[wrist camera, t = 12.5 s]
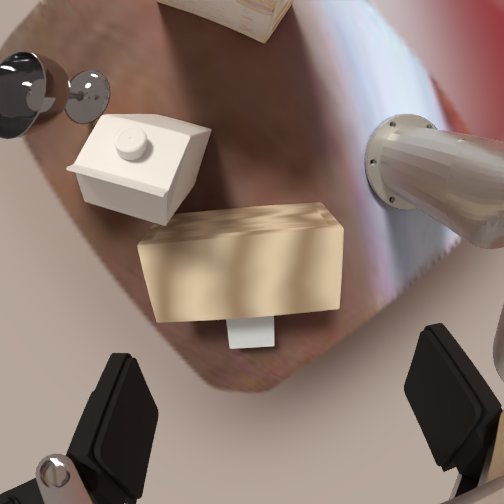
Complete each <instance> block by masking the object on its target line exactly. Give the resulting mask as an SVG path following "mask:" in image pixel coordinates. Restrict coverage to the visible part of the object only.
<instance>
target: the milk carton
mask: <svg viewBox="0 0 504 504" xmlns="http://www.w3.org/2000/svg"><path fill="white" fill-rule="evenodd" d="M211 131H212V130H211V129H209V128H206V127H203V126H199V125H196V124H192V123H188V122H185V121H181V120H177V119H173V118H169V117H165V116H161V115H157V114H107V115H102V116H101V118H100V119H99V121H98V123H97V124H96V126H95V128H94V129H93V131H92V133H91V134H90V136H89V138H88V140H87V141H86V143H85V145H84V147H83V148H82V150H81V152H80V154H79V156H78V158H77V160H76V161H75V163H74V165H71V166H68V167H67V170H69V171H73V172H75V173H76V176H77V179H78V182H79V185H80V188H81V192H82V195H83V198H84V200H85V202H88V203H91V204H94V205H97V206H101V207H104V208H107V209H110V210H114V211H117V212H120V213H124V214H127V215H130V216H134V217H137V218H140V219H143V220H147V221H150V222H153V223H157V224H160V225H164V226H166V225H167V223H168V222H169V220H170V219H171V217H172V216H173V214H174V213H175V212H176V210H177V209H178V207H179V206H180V205H181V203H182V202H183V200H184V199H185V198H186V196H187V195H188V193H189V192H190V191H191V189H192V188H193V186H194V185H195V182H196V178H197V175H198V172H199V168H200V165H201V162H202V159H203V155H204V152H205V149H206V146H207V143H208V140H209V137H210V134H211Z"/></svg>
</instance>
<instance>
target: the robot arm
mask: <svg viewBox="0 0 504 504" xmlns="http://www.w3.org/2000/svg"><path fill="white" fill-rule="evenodd" d="M390 123H391V126H390ZM371 160H372V163H371V164H370V161H371ZM365 168H366V174H367V177H368V181H369V183H370V185H371V187H372V189H373V190H374V192H375V193H376V194H377V196H378V197H379V198H381V199H382V200H383V201H384V202H385V203H387V204H388V205H390V206H392V207H395V208H397V209H402V210H413V209H417V208H418V209H419V210H421V211H423V212H424V213H426V214H427V215H429V216H431V217H432V218H434V219H435V220H437V221H438V222H440V223H441V224H443V225H444V226H446V227H447V228H449V229H450V230H452V231H453V232H455V233H456V234H458V235H459V236H461V237H462V238H464V239H465V240H467V241H468V242H470V243H472V244H473V245H475V246H478V247H480V248H484V249H497V248H502V247H504V142H501V141H496V140H491V139H486V138H482V137H477V136H472V135H466V134H461V133H455V132H449V131H443V130H438V129H437V128H436V127H435V126H434V125H433V124H432V123H431V122H430V121H428V120H427V119H425V118H423V117H421V116H418V115H413V114H400V115H395V116H392V117H390V118H388V119H386V120H385V121H383V122H382V123H381V124H380V125H379V126H378V127H377V128H376V129H375V131H374V132H373V134H372V135H371V137H370V140H369V142H368V145H367V149H366V153H365ZM390 197H391V198H390ZM389 198H390V199H389ZM493 358H494V364H495V367H496V370H497V372H498V374H499V376H500V378H501V379H502V380H503V381H504V305H503V309H502V312H501V315H500V320H499V323H498V327H497V331H496V335H495V339H494V345H493ZM404 391H405V395H406V397H407V399H408V401H409V403H410V405H411V408H412V410H413V412H414V414H415V416H416V418H417V420H418V423H419V425H420V427H421V429H422V432H423V434H424V436H425V438H426V441H427V443H428V445H429V448H430V450H431V452H432V455H433V457H434V459H435V462H436V464H437V465H438V466H441V467H442V469H443V471H444V472H445V471H447V470H450V469H452V468H454V467H457V469H458V471H459V474H458V476H457V479H456V482H455V485H454V488H453V490H452V493H451V496H450V498H449V500H448V501H446V502H444V503H441V504H504V410H502V409H501V404H500V402H499V401H498V399H497V398H496V396H495V395H494V394H493V392H492V390H491V389H490V387H489V386H488V384H487V383H486V381H485V380H484V378H483V377H482V376H481V375H480V373H479V371H478V370H477V369H476V367H475V366H474V364H473V363H472V362H471V360H470V359H469V357H468V356H467V355H466V353H465V352H464V351H463V349H462V348H461V347H460V345H459V344H458V343H457V341H456V340H455V339H454V337H453V336H452V335H451V334H450V332H449V331H448V330H447V328H446V327H445V326H444V325H443V324H442V323H438V324H433V325H429V326H426V327H425V328H424V331H422V332H421V333H420V336H419V339H418V343H417V346H416V350H415V354H414V356H413V360H412V363H411V366H410V370H409V372H408V375H407V379H406V381H405V385H404ZM157 421H158V409H157V406H156V404H155V402H154V400H153V397H152V395H151V393H150V391H149V388H148V386H147V384H146V381H145V379H144V377H143V374H142V372H141V369H140V367H139V364H138V362H137V360H136V359H135V358H132V356H131V355H130V354H128V353H112V355H111V356H110V358H109V360H108V362H107V364H106V367H105V369H104V371H103V373H102V375H101V378H100V380H99V382H98V384H97V387H96V389H95V390H94V391H93V392H92V393H91V395H90V397H89V400H88V402H87V404H86V407H85V409H84V411H83V414H82V416H81V419H80V421H79V423H78V426H77V428H76V431H75V433H74V436H73V438H72V441H71V443H70V446H69V449H68V451H67V454H66V456H65V455H62V454H52V455H49V456H46V457H45V458H43V459H42V460H41V461H40V462H39V464H38V466H37V468H36V478H34V479H32V480H30V481H28V482H26V483H24V484H22V485H19V486H17V487H15V488H13V489H11V490H8V491H6V492H4V493H2V494H0V504H124V503H126V504H136V501H137V499H139V498H141V497H142V493H143V488H144V482H145V478H146V473H147V468H148V463H149V458H150V453H151V448H152V443H153V439H154V434H155V430H156V425H157Z"/></svg>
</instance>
